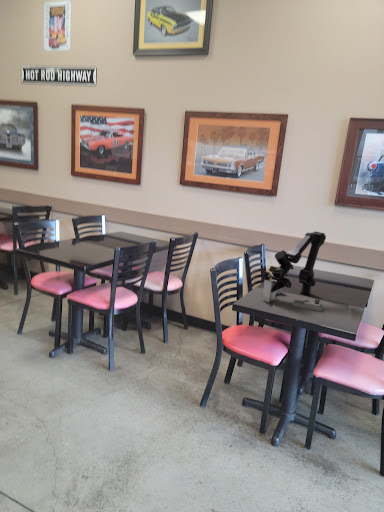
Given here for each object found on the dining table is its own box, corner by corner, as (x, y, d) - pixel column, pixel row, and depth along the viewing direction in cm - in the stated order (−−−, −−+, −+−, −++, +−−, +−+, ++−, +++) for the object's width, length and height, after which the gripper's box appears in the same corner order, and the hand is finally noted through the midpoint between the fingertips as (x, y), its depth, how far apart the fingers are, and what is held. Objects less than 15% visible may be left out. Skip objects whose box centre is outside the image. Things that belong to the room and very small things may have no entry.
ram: (304, 305, 208) (305, 296, 207) (319, 307, 206) (320, 299, 205) (303, 307, 205) (304, 298, 204) (318, 310, 202) (320, 301, 201)
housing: (267, 299, 217) (270, 276, 214) (274, 301, 213) (277, 279, 211) (262, 300, 214) (265, 277, 211) (268, 303, 210) (271, 280, 208)
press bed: (277, 296, 224) (278, 291, 223) (321, 304, 216) (322, 299, 215) (274, 305, 208) (274, 299, 207) (320, 314, 200) (321, 308, 199)
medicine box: (269, 295, 225) (271, 281, 223) (266, 292, 229) (268, 279, 227) (281, 295, 227) (283, 281, 226) (277, 292, 232) (279, 279, 230)
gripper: (265, 257, 218) (250, 277, 214) (291, 265, 204) (275, 286, 200) (272, 269, 225) (258, 288, 221) (298, 277, 210) (282, 298, 206)
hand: (268, 290), depth 212 cm, fingers closed on housing, 5 cm apart
